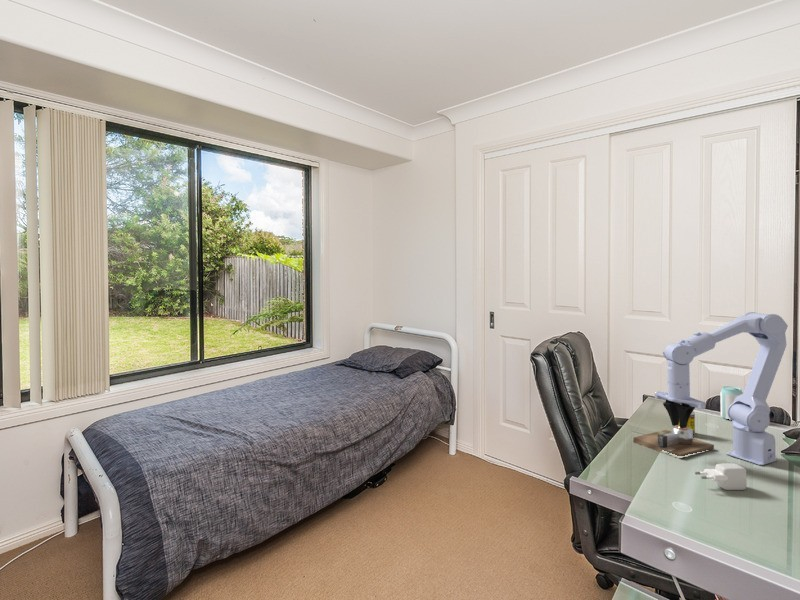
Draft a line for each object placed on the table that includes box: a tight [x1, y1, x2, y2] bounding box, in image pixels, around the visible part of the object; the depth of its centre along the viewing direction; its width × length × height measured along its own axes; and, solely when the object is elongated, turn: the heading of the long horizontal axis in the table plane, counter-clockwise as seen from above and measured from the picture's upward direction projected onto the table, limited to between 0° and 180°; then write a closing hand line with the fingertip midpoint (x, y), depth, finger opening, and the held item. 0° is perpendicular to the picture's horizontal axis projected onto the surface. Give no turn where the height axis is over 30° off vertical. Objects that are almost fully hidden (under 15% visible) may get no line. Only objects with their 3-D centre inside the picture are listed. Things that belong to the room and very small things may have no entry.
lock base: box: [632, 429, 715, 456], centre depth 139 cm, size 16×16×2 cm
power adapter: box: [694, 462, 748, 491], centre depth 110 cm, size 11×5×6 cm, turn 87°
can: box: [719, 386, 744, 421], centre depth 161 cm, size 7×7×12 cm
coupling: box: [658, 425, 694, 448], centre depth 136 cm, size 13×6×5 cm, turn 112°
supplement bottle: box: [676, 411, 696, 435], centre depth 148 cm, size 6×6×10 cm
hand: (679, 426), depth 130 cm, fingers closed
